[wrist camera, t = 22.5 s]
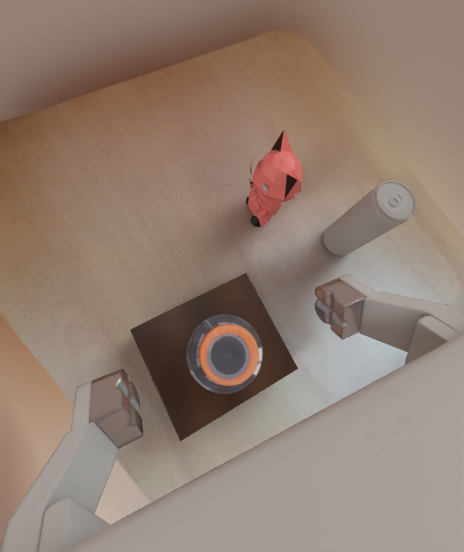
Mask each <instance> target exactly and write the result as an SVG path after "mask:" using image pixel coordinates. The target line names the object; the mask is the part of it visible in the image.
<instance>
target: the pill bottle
mask: <svg viewBox="0 0 464 552" xmlns="http://www.w3.org/2000/svg"><path fill="white" fill-rule="evenodd" d="M186 360H187V365H188V368H189V370H190V373H191V375H192V376H193V378H194V379H195V381H196V382H197V383H198V384H199V385H201V386H202V387H203V388H205V389H207V390H208V391H211V392H214V393H218V394H230V393H234V392H237V391H240V390H242V389H243V388H245V387H246V386H248V385H249V384H250V383H251V382H252V381H253V380H254V378H255V377H256V375H257V373H258V371H259V369H260V366H261V362H262V344H261V341H260V338H259V336H258V334H257V332H256V331H255V329H254V328H253V327H252V326H251V325H250V324H249V323H248V322H247V321H245V320H244V319H242V318H240V317H237V316H234V315H230V314H219V315H215V316H212V317H209V318H207V319H205V320H204V321H202V322H201V323H200V324H199V325H198V326H197V327H196V328H195V329H194V331H193V332H192V334H191V336H190V338H189V341H188V343H187V349H186Z"/></svg>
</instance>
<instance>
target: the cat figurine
mask: <svg viewBox="0 0 464 552" xmlns="http://www.w3.org/2000/svg"><path fill="white" fill-rule="evenodd" d="M259 161H260V160H259ZM250 172H251V174H252V168H250ZM302 173H303V172H302V165H301V163H300V162H299V160H298V159H297V157H296V156H295V154H294V153H293V151H292V149H291V146H290V144H289V141H288V139H287V136H286V134H285V131H284V130H283V132H282V133H281V135H280V137H279V138H278V140H277V141H276V143H275V145H274V146H273V148H272V149H271V151H270V152H269V153H268V154H267V155H266V156H265V157H264V158H263V159H262V160H261V161H260V162H259V163H258V164H257V167H256V170H255V173H254V175H253V178H252V182H251V181H250V184H251V185H250V188H251V191H250V195H249V197H247V200H246V203H247V204H248V207H249V208H250V210H251V211H252V213H253V214H254V215H253V217H252V219H251V223H252V224H253V226H258V227H262V226H263V225H264V224H266V223H267V222H268V221H269V220H270V218H271V216H272V215H273V214H276V212H277V211H278V210H279V208H280V206H281V202H284V201H287V200H290V199H292V198H294V195H295V194H297V193H298V192H300V191H301V182H302ZM249 180H250V179H249Z"/></svg>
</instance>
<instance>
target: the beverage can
mask: <svg viewBox="0 0 464 552" xmlns="http://www.w3.org/2000/svg"><path fill="white" fill-rule="evenodd" d="M415 210H416V199H415V197H414V194H413V193H412V191H411V190H410V189H409V188H408V187H407V186H406V185H404V184H403V183H401V182H398V181H392V180H390V181H386V182H384V183H382V184H380V185H378V186H376V187H375V188H374V189H373V190H372V191H370V192H369V193H368V194H367V195H366V196H364V197H363V198H362V199H361V200H360V201H359V202H357V203H356V204H355V205H354V206H353V207H352V208H350V209H349V210H348V211H347V212H346V213H345V214H343V215H342V216H341V217H340V218H339V219H338V220H336V221H335V222H334V223H333V224H332V225H330V226H329V227H328V228H327V229H326V230H325V232H324V236H323V240H324V244H325V246H326V248H327V249H328V250H329V251H330V252H331V253H333V254H335V255H338V256H344V255H347V254H349V253H351V252H352V251H354V250H356V249H358V248H359V247H361V246H363V245H365V244H366V243H368V242H370V241H372V240H373V239H375V238H377V237H379V236H380V235H382V234H384V233H386V232H388V231H389V230H391V229H393V228H395V227H396V226H398V225H400V224H402V223H403V222H405V221H407V219H408V218H410V217H411V216H412V215H413V214H414V212H415Z"/></svg>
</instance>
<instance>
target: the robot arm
mask: <svg viewBox="0 0 464 552" xmlns="http://www.w3.org/2000/svg"><path fill="white" fill-rule="evenodd" d="M315 295H316V296H317V297H318V298H317V300H316V302H315V310H316V312H317V315H318V316H319V318H320V319H321V320H322V321H323V322H324V323H327V324H330V325H331V330H332V331H333V332H335V333H336V334H337V335H338V336H339V337H340V338H341V339H342V340H343V339H345V338H347V337H350V336H352V335H354V334H356V333H358V332H360V333H361V334H363V335H366V336H368V337H371V338H373V339H376V340H378V341H381V342H383V343H386V344H388V345H391V346H394V347H396V348H399V349H401V350H404V351H406V352H408V354H407V357H406V360H405V365H404V366H402V367H400V368H399V369H397V370H395V371H393V372H391V373H389V374H387V375H386V376H384V377H382V378H380V379H378V380H376V381H375V382H373V383H371V384H369V385H367V386H365V387H364V388H362V389H360V390H358V391H356V392H354V393H352V394H351V395H349V396H347V397H345V398H343V399H341V400H340V401H338V402H336V403H334V404H332V405H330V406H328V407H327V408H325V409H323V410H321V411H319V412H317V413H316V414H314V415H312V416H310V417H308V418H306V419H305V420H303V421H301V422H299V423H297V424H295V425H293V426H292V427H290V428H288V429H286V430H284V431H282V432H281V433H279V434H277V435H275V436H273V437H271V438H270V439H268V440H266V441H264V442H262V443H260V444H259V445H257V446H255V447H253V448H251V449H249V450H248V451H246V452H244V453H242V454H240V455H238V456H236V457H235V458H233V459H231V460H229V461H227V462H225V463H224V464H222V465H220V466H218V467H216V468H214V469H213V470H211V471H209V472H207V473H205V474H203V475H202V476H200V477H198V478H196V479H194V480H192V481H190V482H189V483H187V484H185V485H183V486H181V487H179V488H178V489H176V490H174V491H172V492H170V493H168V494H167V495H165V496H163V497H161V498H159V499H157V500H156V501H154V502H152V503H150V504H148V505H146V506H144V507H143V508H141V509H139V510H137V511H135V512H133V513H132V514H130V515H128V516H126V517H124V518H122V519H121V520H119V521H117V522H115V523H113V524H111V525H109V524H108V523H107V522H105V521H104V520H102V519H101V518H99V517H98V516H96V515H95V514H94V513H95V511H96V508H97V506H98V503H99V501H100V498H101V495H102V493H103V490H104V488H105V485H106V483H107V480H108V478H109V475H110V472H111V470H112V467H113V465H114V462H115V460H116V457H117V454H118V452H119V448H121V447H123V446H125V445H127V444H128V443H130V442H132V441H134V440H136V439H138V438H140V437H142V436H143V428H142V419H141V417H140V415H139V414H138V410H139V408H140V402H139V397H138V394H137V391H136V388H135V386H134V385H133V383H132V382H129V381H128V377H127V374H126V372H125V371H124V370H123V369H121V370H118V371H116V372H113V373H111V374H108V375H105V376H103V377H100V378H98V379H95V380H93V381H91V382H88V383H86V384H83V385H81V386H78V387H77V389H76V391H75V399H74V408H73V416H72V424H71V432H69V433H67V434H66V435H65V436H64V438H63V439H62V441H61V442H60V444H59V445H58V447H57V448H56V450H55V451H54V453H53V454H52V456H51V457H50V459H49V460H48V462H47V463H46V465H45V466H44V468H43V469H42V471H41V473H40V474H39V476H38V477H37V479H36V480H35V482H34V483H33V485H32V486H31V488H30V489H29V491H28V492H27V494H26V495H25V497H24V498H23V500H22V501H21V503H20V504H19V506H18V508H17V509H16V511H15V512H14V514H13V515H12V517H11V518H10V520H9V521H8V523H7V524H6V528H5V532H4V536H3V540H2V544H1V548H0V552H464V314H463V313H461V312H459V311H458V310H456V309H454V308H452V307H450V306H448V305H447V304H441V303H436V302H431V301H426V300H421V299H416V298H411V297H405V296H400V295H395V294H390V293H385V292H379V293H377V292H375V291H374V290H372V289H371V288H369V287H368V286H366V285H365V284H363V283H362V282H360V281H358V280H357V279H355V278H354V277H352V276H351V275H347V274H346V275H344V276H341V277H339V278H337V279H334V280H332V281H330V282H327V283H325V284H323V285H321V286H318V287H316V289H315Z"/></svg>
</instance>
